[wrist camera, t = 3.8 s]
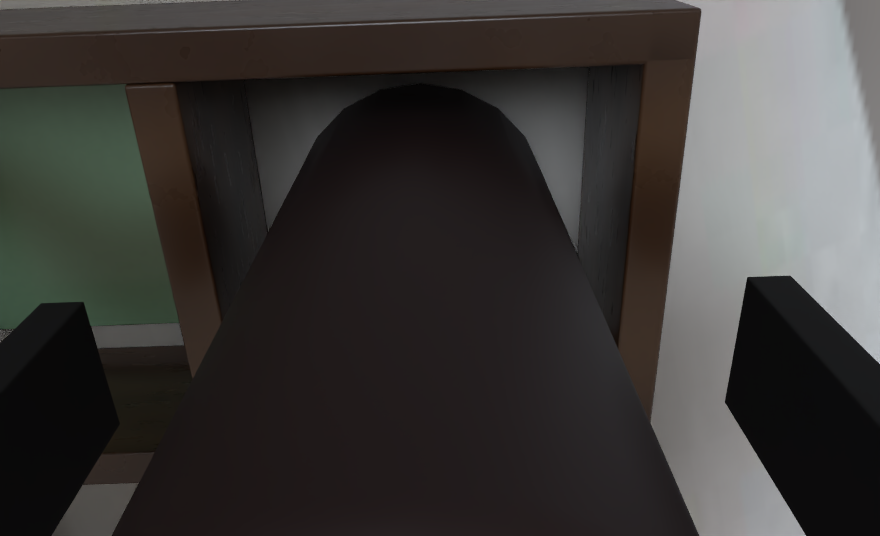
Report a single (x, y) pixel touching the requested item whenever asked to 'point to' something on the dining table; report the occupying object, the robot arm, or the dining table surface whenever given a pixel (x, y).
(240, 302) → the vinegar
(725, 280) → the dining table surface
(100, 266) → the wooden box with compartments
